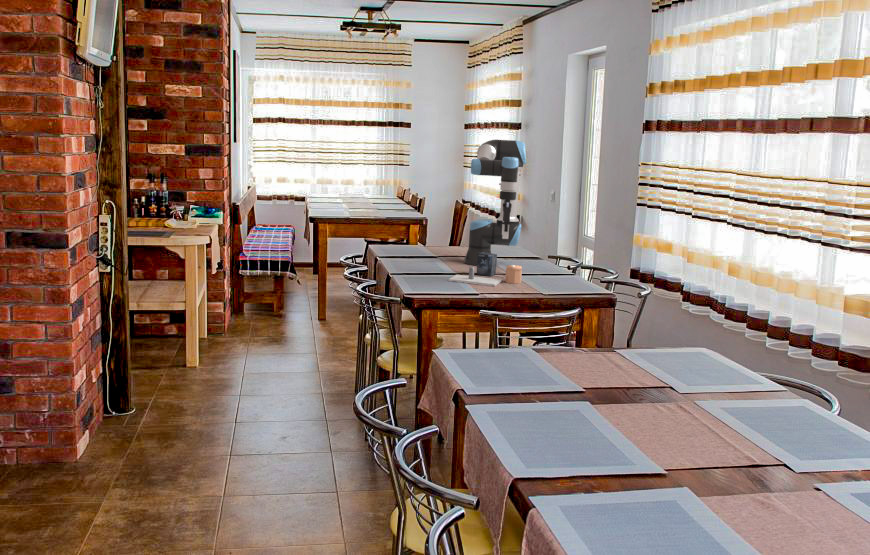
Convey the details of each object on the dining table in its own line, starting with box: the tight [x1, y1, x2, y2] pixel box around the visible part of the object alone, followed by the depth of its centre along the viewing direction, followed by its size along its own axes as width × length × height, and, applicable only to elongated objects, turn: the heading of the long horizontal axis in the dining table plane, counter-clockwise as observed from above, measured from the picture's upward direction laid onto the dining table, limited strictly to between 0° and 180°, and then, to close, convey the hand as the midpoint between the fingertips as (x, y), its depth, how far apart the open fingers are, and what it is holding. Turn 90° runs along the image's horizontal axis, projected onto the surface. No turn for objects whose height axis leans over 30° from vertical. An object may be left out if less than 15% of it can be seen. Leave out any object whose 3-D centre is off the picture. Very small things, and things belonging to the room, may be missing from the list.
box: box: [476, 252, 498, 277], centre depth 411 cm, size 8×6×11 cm
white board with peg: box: [448, 266, 503, 287], centre depth 393 cm, size 13×22×6 cm, turn 72°
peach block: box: [504, 264, 523, 285], centre depth 397 cm, size 7×7×8 cm
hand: (504, 236), depth 392 cm, fingers open, 13 cm apart
